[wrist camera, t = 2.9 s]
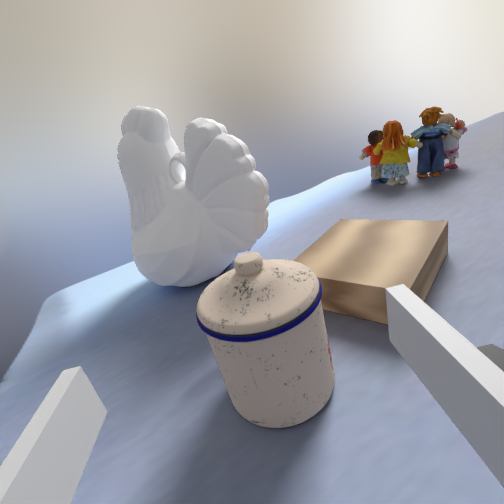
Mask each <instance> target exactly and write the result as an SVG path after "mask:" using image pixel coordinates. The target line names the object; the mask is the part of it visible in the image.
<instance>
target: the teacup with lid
mask: <svg viewBox="0 0 504 504" xmlns="http://www.w3.org/2000/svg"><path fill="white" fill-rule="evenodd" d="M321 297H322V286H321V283H320V281H319V279H318V278H317V276H316V274H315V273H314V272H313V271H312V270H311V269H310V268H309V267H307V266H305V265H303V264H301V263H299V262H295V261H291V260H284V259H271V260H263V259H262V257H261V255H260V254H258V253H256V252H248V253H244V254H242V255H240V256H238V257H237V258H236V259H235V261H234V268H233V269H232V270H230V271H228V272H226V273H224V274H222V275H221V276H219V277H218V278H216V279H215V280H214V281H213V282H211V283H210V284H209V285H208V286H207V287H206V288H205V290H204V291H203V292H202V294H201V296H200V298H199V300H198V303H197V313H196V317H197V322H198V324H199V326H200V328H201V329H202V330H203V331H204V332H205V333H206V335H207V338H208V340H209V343H210V345H211V348H212V351H213V353H214V356H215V359H216V361H217V364H218V366H219V369H220V372H221V374H222V377H223V379H224V382H225V385H226V387H227V390H228V393H229V395H230V398H231V400H232V403H233V405H234V407H235V408H236V410H237V411H238V413H239V414H240V415H241V416H243V417H244V418H245V419H246V420H248V421H250V422H252V423H254V424H256V425H259V426H263V427H268V428H284V427H290V426H294V425H297V424H300V423H302V422H304V421H306V420H308V419H310V418H311V417H313V416H314V415H316V414H317V413H318V412H319V411H320V410H321V409H322V408H323V407H324V406H325V404H326V403H327V402H328V400H329V398H330V396H331V394H332V391H333V388H334V382H335V374H334V368H333V363H332V358H331V352H330V347H329V342H328V336H327V331H326V326H325V320H324V315H323V310H322V305H321Z"/></svg>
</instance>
